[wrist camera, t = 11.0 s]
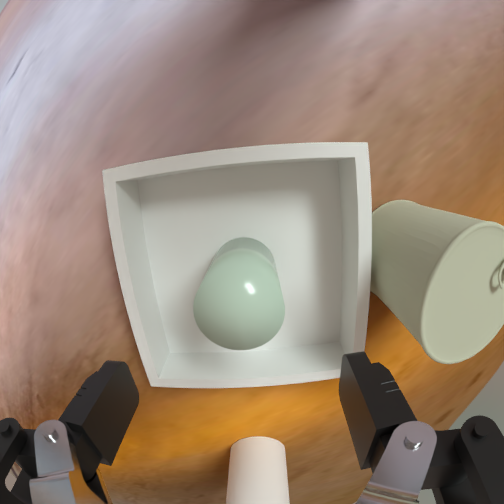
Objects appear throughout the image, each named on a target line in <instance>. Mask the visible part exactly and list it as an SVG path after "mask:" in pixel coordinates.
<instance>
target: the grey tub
mask: <svg viewBox="0 0 504 504" xmlns="http://www.w3.org/2000/svg"><path fill="white" fill-rule="evenodd" d="M102 174H103V184H104V193H105V201H106V209H107V216H108V223H109V229H110V235H111V241H112V246H113V252H114V257H115V262H116V267H117V271H118V276H119V280H120V285H121V289H122V293H123V297H124V301H125V305H126V309H127V313H128V316H129V320H130V323H131V327H132V330H133V334H134V337H135V340H136V344H137V347H138V350H139V353H140V356H141V359H142V362H143V365H144V368H145V371H146V374H147V376H148V379H149V382H150V385H151V386H155V387H174V388H239V387H259V386H273V385H285V384H295V383H304V382H312V381H320V380H327V379H334V378H340V373H341V364H342V357H343V355H344V354H349V353H356V352H362V351H364V350H365V342H366V333H367V323H368V312H369V299H370V283H371V259H372V205H371V181H370V165H369V153H368V143H364V142H320V143H292V144H274V145H261V146H249V147H238V148H229V149H220V150H212V151H204V152H197V153H190V154H183V155H177V156H170V157H164V158H159V159H153V160H148V161H143V162H138V163H133V164H128V165H123V166H119V167H114V168H110V169H105V170H102ZM240 237H247V238H253V239H255V240H258V241H260V242H261V243H263V244H264V245H265V246H266V247H267V248H268V249H269V250H270V252H271V253H272V255H273V257H274V261H275V265H276V269H277V273H278V278H279V282H280V286H281V291H282V295H283V300H284V305H285V316H284V321H283V324H282V326H281V328H280V330H279V331H278V333H277V334H276V335H275V336H274V337H273V338H272V339H271V340H270V341H269V342H267V343H266V344H264V345H262V346H260V347H257V348H254V349H250V350H231V349H227V348H224V347H221V346H219V345H217V344H215V343H213V342H212V341H210V340H209V339H208V338H207V337H206V336H205V335H204V334H203V333H202V332H201V331H200V329H199V327H198V326H197V323H196V321H195V318H194V313H193V303H194V298H195V295H196V293H197V291H198V289H199V287H200V285H201V283H202V281H203V279H204V277H205V275H206V273H207V271H208V269H209V267H210V265H211V263H212V261H213V259H214V257H215V255H216V253H217V252H218V250H219V249H220V248H221V247H222V246H223V245H224V244H225V243H226V242H228V241H230V240H232V239H235V238H240Z"/></svg>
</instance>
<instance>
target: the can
mask: <svg viewBox="0 0 504 504" xmlns="http://www.w3.org/2000/svg"><path fill="white" fill-rule="evenodd" d="M370 291H371V292H372V293H374V294H375V295H376V296H378V297H379V298H380V300H381V301H382V302H383V303H384V304H385V305H386V306H387V307H388V308H389V309H390V310H391V311H392V312H393V313H394V314H395V316H396V317H397V318H398V319H399V320H400V321H401V322H402V323H403V325H404V326H405V327H406V328H407V329H408V330H409V332H410V333H411V334H412V335H413V336H414V337H415V339H416V340H417V341H418V342H419V343H420V345H421V346H422V348H423V350H424V351H425V353H426V354H427V355H428V356H429V357H430V358H431V359H433V360H434V361H436V362H439V363H442V364H453V363H458V362H461V361H464V360H466V359H468V358H470V357H472V356H474V355H475V354H477V353H478V352H479V351H481V350H482V349H483V348H484V347H485V346H486V345H487V344H488V343H489V342H490V341H491V340H492V339H493V338H494V337H495V335H496V334H497V333H498V332H499V330H500V329H501V327H502V326H503V324H504V226H502V225H500V224H498V223H496V222H491V221H483V220H479V219H475V218H471V217H467V216H463V215H459V214H455V213H451V212H447V211H443V210H438V209H434V208H430V207H426V206H422V205H419V204H417V203H415V202H412V201H408V200H395V201H391V202H388V203H386V204H383V205H382V206H380V207H378V208H377V209H376V210H375V211H373V212H372V259H371V283H370Z"/></svg>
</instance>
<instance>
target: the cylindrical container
mask: <svg viewBox="0 0 504 504" xmlns="http://www.w3.org/2000/svg"><path fill="white" fill-rule="evenodd" d="M226 504H289V492H288V479H287V468H286V456H285V447H284V445H283V444H282V443H281V442H279V441H278V440H275V439H272V438H268V437H259V436H258V437H248V438H244V439H241V440H238V441H237V442H235V443H234V444H233V445H232V447H231V452H230V463H229V475H228V486H227V498H226Z"/></svg>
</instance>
